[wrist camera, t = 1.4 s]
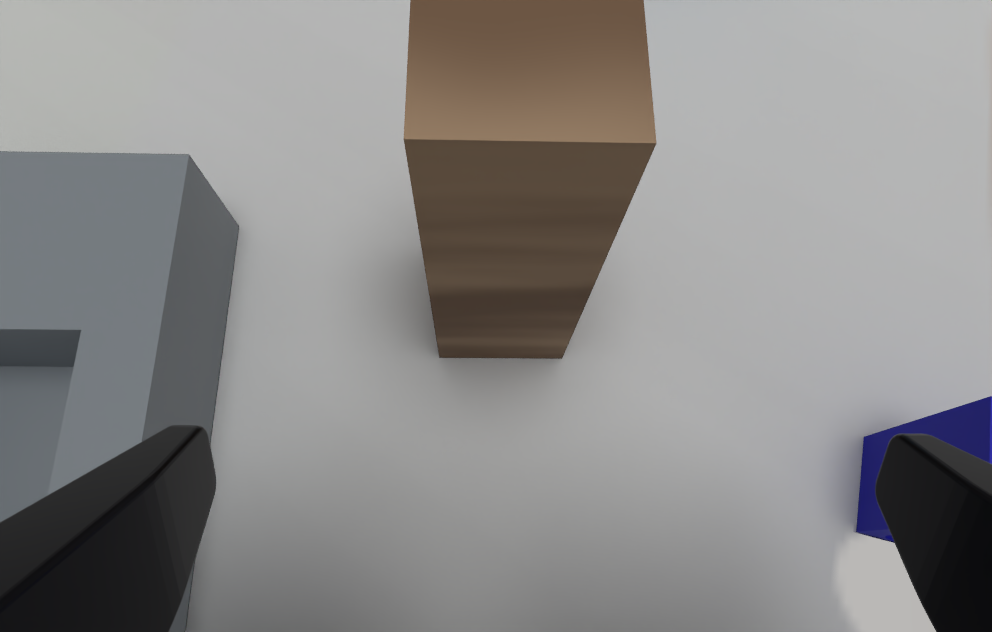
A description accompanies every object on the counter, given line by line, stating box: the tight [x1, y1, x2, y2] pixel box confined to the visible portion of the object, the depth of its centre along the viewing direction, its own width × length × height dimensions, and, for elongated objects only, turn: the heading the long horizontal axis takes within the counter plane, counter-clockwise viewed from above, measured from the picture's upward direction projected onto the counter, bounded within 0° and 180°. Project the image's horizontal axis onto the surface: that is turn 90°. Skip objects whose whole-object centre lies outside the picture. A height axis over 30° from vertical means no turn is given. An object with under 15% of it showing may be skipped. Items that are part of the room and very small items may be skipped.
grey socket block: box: [0, 151, 239, 632], centre depth 19 cm, size 16×10×4 cm, turn 0°
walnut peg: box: [404, 0, 656, 358], centre depth 18 cm, size 4×4×12 cm
